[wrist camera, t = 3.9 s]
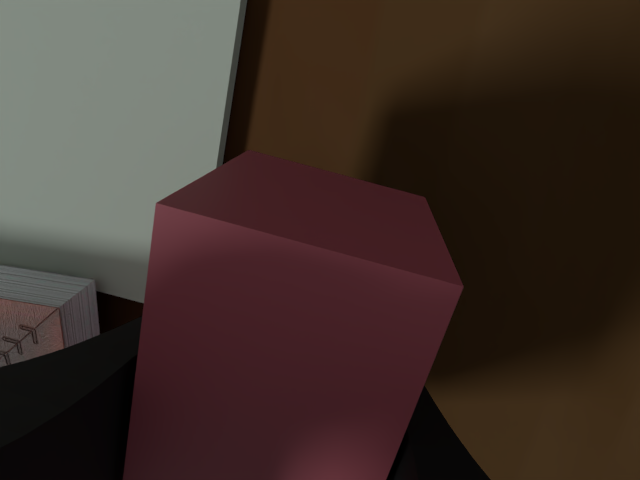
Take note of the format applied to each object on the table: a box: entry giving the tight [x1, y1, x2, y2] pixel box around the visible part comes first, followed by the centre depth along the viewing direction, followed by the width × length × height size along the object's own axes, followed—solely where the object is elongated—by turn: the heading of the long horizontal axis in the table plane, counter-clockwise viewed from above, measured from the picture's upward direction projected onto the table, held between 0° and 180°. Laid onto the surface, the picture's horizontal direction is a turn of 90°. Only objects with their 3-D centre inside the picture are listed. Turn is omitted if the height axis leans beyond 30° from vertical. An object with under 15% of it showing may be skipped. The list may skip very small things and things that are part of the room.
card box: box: [123, 150, 464, 480], centre depth 10 cm, size 9×4×5 cm, turn 166°
